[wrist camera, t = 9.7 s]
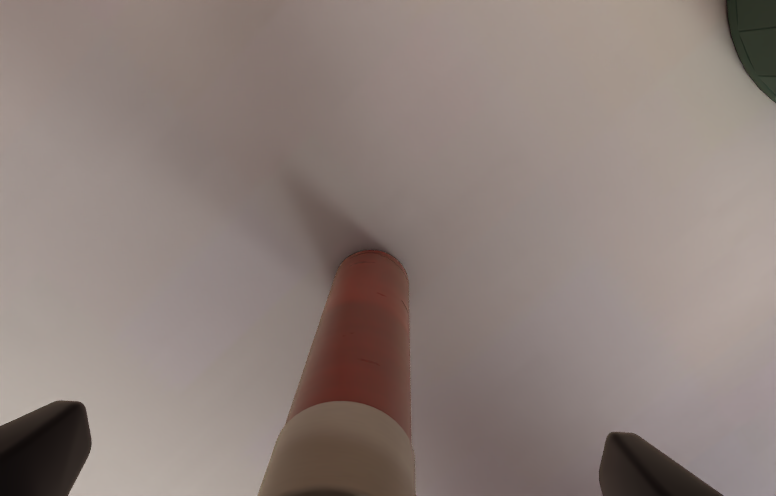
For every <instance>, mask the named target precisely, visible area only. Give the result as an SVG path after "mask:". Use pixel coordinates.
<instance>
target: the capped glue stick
mask: <svg viewBox="0 0 776 496" xmlns="http://www.w3.org/2000/svg"><path fill="white" fill-rule="evenodd" d="M258 496H416V476H415V455H414V450H413V447H412V434H411V377H410V321H409V281H408V276H407V273H406V271H405V269H404V267H403V266H402V264H401V263H400V262H399V261H398V260H397V259H396V258H394V257H393V256H391V255H389V254H387V253H385V252H382V251H378V250H364V251H360V252H357V253H354V254H352V255H350V256H349V257H348V258H346V259H345V260H344V261H343V262H342V263H341V265H340V266H339V268H338V269H337V272H336V274H335V277H334V280H333V283H332V286H331V289H330V292H329V295H328V298H327V301H326V304H325V307H324V310H323V313H322V316H321V319H320V322H319V325H318V328H317V331H316V334H315V337H314V340H313V343H312V346H311V349H310V352H309V355H308V358H307V361H306V364H305V367H304V370H303V373H302V376H301V379H300V382H299V385H298V388H297V391H296V394H295V397H294V400H293V402H292V405H291V408H290V411H289V414H288V417H287V420H286V423H285V426H284V427H283V429H282V430H281V432H280V434H279V435H278V438H277V441H276V443H275V446H274V449H273V452H272V455H271V458H270V461H269V464H268V466H267V469H266V472H265V475H264V478H263V481H262V484H261V487H260V490H259V493H258Z"/></svg>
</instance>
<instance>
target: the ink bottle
mask: <svg viewBox="0 0 776 496" xmlns="http://www.w3.org/2000/svg"><path fill="white" fill-rule="evenodd" d="M727 8H728V20H729V25H730V30H731V34H732V39H733V42H734V45H735V47H736V50H737V53H738V56H739V58H740V60H741V62H742V64H743V65H744V67H745V69H746V71H747V73H748V74H749V76H750V77H751V78H752V79H753V81H754V82H755V83H756V84H757V86H758V87H759V88H760V89H761V90H762V91H763V92H764V93H765V94H766V95H767V96H768V97H770V98H771V99H772V100H773V101H774V102H776V0H727Z"/></svg>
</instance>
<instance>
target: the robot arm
mask: <svg viewBox="0 0 776 496" xmlns="http://www.w3.org/2000/svg"><path fill="white" fill-rule="evenodd" d="M90 450H91V434H90V429H89V423H88V418H87V412H86V408H85V406H84V404H83V403H81V402H78V401H55V402H53V403H50V404H48V405H46V406H44V407H42V408H39V409H37V410H35V411H33V412H31V413H28V414H26V415H24V416H22V417H20V418H17V419H15V420H13V421H11V422H9V423H6V424H4V425H2V426H0V496H68V494H69V492H70V490H71V488H72V486H73V485H74V483H75V481H76V479H77V477H78V475H79V473H80V471H81V469H82V467H83V465H84V463H85V462H86V460H87V458H88V456H89V453H90ZM599 482H600V487H601V490H602V494H603V496H723V495H722V494H720V493H719V492H718V491H716V490H715V489H713V488H712V487H710V486H709V485H708V484H706V483H705V482H703V481H702V480H701V479H699V478H698V477H696V476H695V475H693V474H692V473H691V472H689V471H688V470H686V469H685V468H684V467H682V466H681V465H679V464H678V463H676V462H675V461H674V460H672V459H671V458H669V457H668V456H666V455H665V454H664V453H662V452H661V451H659V450H658V449H657V448H655V447H654V446H652V445H651V444H649V443H648V442H647V441H645V440H644V439H642V438H641V437H640V436H638V435H636V434H634V433H626V432H611V433H610V434H609V435H608V436H607V438H606V442H605V446H604V451H603V455H602V460H601V464H600V469H599Z"/></svg>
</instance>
